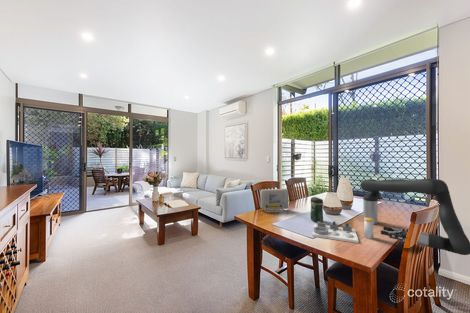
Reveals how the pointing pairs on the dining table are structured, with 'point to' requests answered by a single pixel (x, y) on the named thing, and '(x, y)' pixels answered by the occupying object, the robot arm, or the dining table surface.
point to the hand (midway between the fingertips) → (382, 230)
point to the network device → (274, 199)
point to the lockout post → (369, 228)
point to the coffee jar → (316, 209)
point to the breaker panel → (335, 232)
